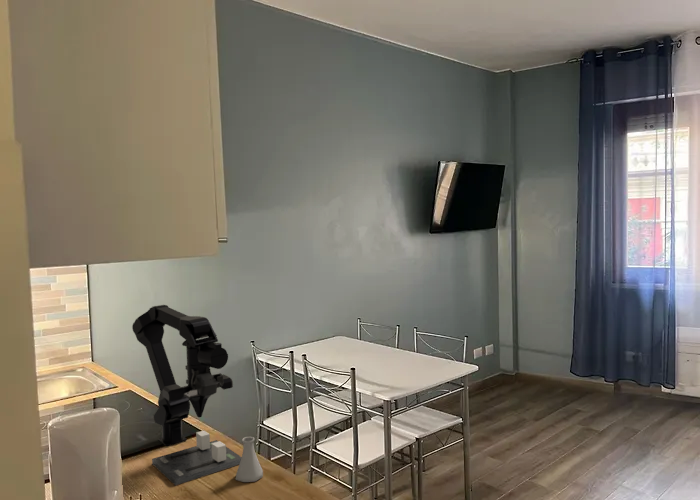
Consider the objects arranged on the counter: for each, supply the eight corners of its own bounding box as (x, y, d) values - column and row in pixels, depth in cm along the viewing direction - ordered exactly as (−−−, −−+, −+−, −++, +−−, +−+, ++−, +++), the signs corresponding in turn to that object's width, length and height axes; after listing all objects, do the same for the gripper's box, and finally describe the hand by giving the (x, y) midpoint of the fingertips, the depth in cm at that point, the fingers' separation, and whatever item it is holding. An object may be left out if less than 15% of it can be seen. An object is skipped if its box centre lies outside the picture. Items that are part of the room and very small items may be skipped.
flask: (257, 484, 143) (256, 445, 143) (230, 482, 145) (229, 443, 144) (267, 471, 150) (266, 434, 150) (241, 469, 152) (240, 432, 151)
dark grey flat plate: (152, 464, 156) (152, 458, 156) (216, 445, 168) (216, 439, 168) (175, 485, 143) (175, 479, 143) (243, 463, 155) (242, 457, 155)
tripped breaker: (196, 446, 163) (196, 432, 162) (204, 444, 164) (204, 430, 164) (202, 450, 160) (201, 436, 159) (210, 447, 161) (209, 434, 161)
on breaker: (212, 457, 155) (211, 443, 154) (220, 455, 156) (219, 441, 156) (218, 462, 152) (217, 447, 152) (226, 459, 153) (225, 445, 153)
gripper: (175, 375, 149) (177, 433, 150) (240, 362, 160) (242, 417, 161) (160, 366, 158) (162, 421, 159) (223, 355, 169) (225, 406, 170)
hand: (199, 416), depth 162 cm, fingers closed
